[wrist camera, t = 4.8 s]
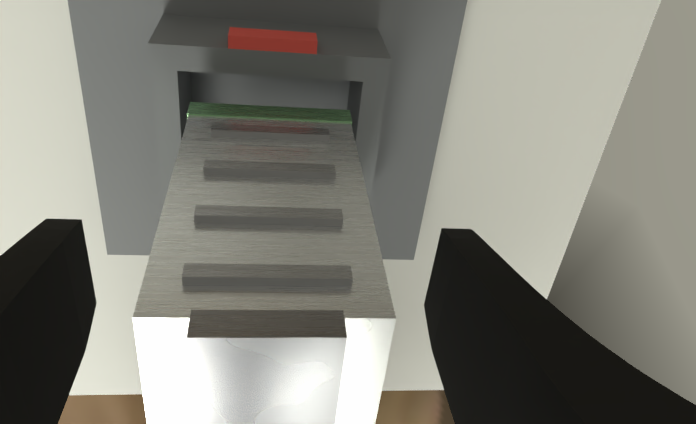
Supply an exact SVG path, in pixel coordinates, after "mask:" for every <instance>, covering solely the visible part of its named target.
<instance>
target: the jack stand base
mask: <svg viewBox="0 0 696 424" xmlns="http://www.w3.org/2000/svg"><path fill="white" fill-rule="evenodd" d="M660 2H661V0H0V255H2V254H3V253H4V252H5V251H7V250H8V249H9V248H10V247H11V246H13V245H14V244H15V243H16V242H18V241H19V240H20V239H21V238H22V237H24V236H25V235H26V234H27V233H29V232H30V231H31V230H32V229H34V228H35V227H36V226H37V225H39V224H40V223H41V222H43V221H44V220H45V219H82V224H83V230H84V235H85V241H86V247H87V252H88V258H89V263H90V269H91V274H92V280H93V286H94V291H95V297H96V302H97V304H96V308H95V312H94V317H93V321H92V326H91V330H90V334H89V338H88V342H87V346H86V350H85V353H84V356H83V359H82V362H81V364H80V367H79V369H78V372H77V375H76V377H75V380H74V383H73V385H72V388H71V390H70V393H69V395H113V394H143V391H142V384H141V376H140V369H139V362H138V355H137V347H136V340H135V333H134V325H133V314H134V310H135V307H136V303H137V300H138V296H139V292H140V289H141V285H142V281H143V278H144V274H145V271H146V267H147V263H148V260H149V256H150V252H151V249H152V245H153V242H154V238H155V234H156V231H157V227H158V224H159V220H160V216H161V213H162V209H163V205H164V202H165V198H166V195H167V191H168V187H169V184H170V180H171V176H172V173H173V169H174V166H175V162H176V158H177V155H178V151H179V148H180V144H181V140H182V137H183V133H184V129H185V126H186V122H187V112H188V108H189V105H190V102H201V103H220V104H240V105H259V106H279V107H298V108H318V109H337V110H350V114H351V118H352V130H353V134H354V139H355V143H356V147H357V152H358V156H359V160H360V164H361V169H362V173H363V177H364V182H365V186H366V190H367V195H368V199H369V203H370V208H371V212H372V216H373V221H374V225H375V229H376V234H377V238H378V242H379V247H380V251H381V255H382V259H383V264H384V268H385V272H386V277H387V281H388V285H389V290H390V294H391V298H392V303H393V307H394V311H395V316H396V322H395V327H394V332H393V337H392V342H391V347H390V352H389V357H388V362H387V367H386V372H385V377H384V382H383V387H382V391H398V390H444V388H443V385H442V382H441V378H440V375H439V372H438V369H437V366H436V362H435V359H434V356H433V352H432V349H431V344H430V338H429V333H428V327H427V321H426V315H425V309H424V302H425V298H426V293H427V289H428V285H429V280H430V276H431V272H432V267H433V263H434V259H435V254H436V250H437V246H438V241H439V237H440V233H441V228H454V229H472V230H473V231H474V232H475V233H476V234H478V235H479V236H480V237H481V238H482V239H483V240H484V241H485V242H486V243H487V244H488V245H489V246H490V247H491V248H492V249H493V250H494V251H495V252H496V253H497V254H499V255H500V256H501V257H502V258H503V259H504V260H505V261H506V262H507V263H508V264H509V265H510V266H511V267H512V268H513V269H514V270H515V271H516V272H517V273H518V274H519V275H520V276H521V277H523V278H524V279H525V280H526V281H527V282H528V283H529V284H530V285H531V286H532V287H533V288H534V289H535V290H537V291H538V292H539V293H540V294H541V295H542V296H543V297H544V298H545V299H547V297H548V295H549V292H550V290H551V287H552V284H553V282H554V279H555V277H556V274H557V271H558V269H559V266H560V263H561V261H562V258H563V256H564V253H565V251H566V248H567V245H568V243H569V240H570V237H571V235H572V232H573V229H574V227H575V224H576V222H577V219H578V217H579V214H580V211H581V209H582V206H583V203H584V201H585V198H586V196H587V193H588V190H589V188H590V185H591V182H592V180H593V177H594V175H595V172H596V170H597V167H598V164H599V162H600V159H601V156H602V154H603V151H604V149H605V146H606V143H607V141H608V138H609V136H610V133H611V130H612V128H613V125H614V122H615V120H616V117H617V115H618V112H619V109H620V107H621V104H622V102H623V99H624V96H625V94H626V91H627V89H628V86H629V83H630V81H631V78H632V75H633V73H634V70H635V67H636V65H637V62H638V60H639V57H640V55H641V52H642V49H643V47H644V44H645V41H646V38H647V36H648V34H649V31H650V28H651V26H652V23H653V20H654V18H655V15H656V13H657V10H658V7H659V5H660Z"/></svg>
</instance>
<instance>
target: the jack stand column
mask: <svg viewBox="0 0 696 424" xmlns="http://www.w3.org/2000/svg"><path fill="white" fill-rule="evenodd" d="M395 322H396V316H395V311H394V307H393V303H392V298H391V294H390V290H389V285H388V281H387V277H386V272H385V268H384V264H383V259H382V255H381V251H380V247H379V242H378V238H377V234H376V229H375V225H374V221H373V216H372V212H371V208H370V203H369V199H368V195H367V190H366V186H365V182H364V177H363V173H362V169H361V164H360V160H359V156H358V152H357V147H356V143H355V139H354V134H353V130H352V118H351V114H350V110H337V109H318V108H298V107H279V106H259V105H240V104H220V103H201V102H190V105H189V108H188V112H187V122H186V126H185V129H184V133H183V137H182V140H181V144H180V148H179V151H178V155H177V158H176V162H175V166H174V169H173V173H172V176H171V180H170V184H169V187H168V191H167V195H166V198H165V202H164V205H163V209H162V213H161V216H160V220H159V224H158V227H157V231H156V234H155V238H154V242H153V245H152V249H151V252H150V256H149V260H148V263H147V267H146V271H145V274H144V278H143V281H142V285H141V289H140V292H139V296H138V300H137V303H136V307H135V310H134V314H133V325H134V333H135V340H136V347H137V355H138V362H139V369H140V376H141V384H142V391H143V398H144V406H145V413H146V420H147V424H375V422H376V417H377V412H378V407H379V402H380V397H381V392H382V387H383V382H384V377H385V372H386V367H387V362H388V357H389V352H390V347H391V342H392V337H393V332H394V327H395Z"/></svg>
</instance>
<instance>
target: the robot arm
mask: <svg viewBox="0 0 696 424" xmlns="http://www.w3.org/2000/svg"><path fill="white" fill-rule="evenodd" d="M96 304H97V302H96V297H95V291H94V286H93V280H92V274H91V269H90V263H89V258H88V252H87V247H86V241H85V235H84V230H83V224H82V219H45V220H44V221H43V222H41V223H40V224H39V225H37V226H36V227H35V228H34V229H32V230H31V231H30V232H29V233H27V234H26V235H25V236H24V237H22V238H21V239H20V240H19V241H18V242H16V243H15V244H14V245H13V246H11V247H10V248H9V249H8V250H7V251H5V252H4V253H3V254H2V255H0V424H58V421H59V419H60V416H61V414H62V411H63V408H64V406H65V403H66V401H67V398H68V396H69V393H70V390H71V388H72V385H73V383H74V380H75V377H76V375H77V372H78V369H79V367H80V364H81V362H82V359H83V356H84V353H85V350H86V346H87V342H88V338H89V334H90V330H91V326H92V321H93V317H94V312H95V308H96ZM424 309H425V315H426V321H427V327H428V333H429V338H430V344H431V349H432V352H433V356H434V359H435V362H436V366H437V369H438V372H439V375H440V378H441V382H442V385H443V388H444V391H445V394H446V397H447V400H448V403H449V406H450V410H451V413H452V416H453V419H454V422H455V424H696V405H694V404H693V403H691V402H689V401H687V400H686V399H684V398H683V397H681V396H679V395H678V394H676V393H674V392H673V391H671V390H670V389H668V388H666V387H665V386H663V385H661V384H660V383H658V382H656V381H655V380H653V379H652V378H650V377H648V376H647V375H645V374H643V373H642V372H640V371H639V370H638V369H636V368H634V367H633V366H632V365H630V364H629V363H627V362H626V361H625V360H623V359H622V358H620V357H619V356H618V355H616V354H615V353H613V352H612V351H611V350H609V349H608V348H606V347H605V346H603V345H602V344H601V343H599V342H598V341H597V340H595V339H594V338H593V337H591V336H590V335H589V334H587V333H586V332H585V331H583V330H582V329H581V328H580V327H579V326H578V325H576V324H575V323H574V322H573V321H571V320H570V319H569V318H568V317H566V316H565V315H564V314H563V313H562V312H561V311H559V310H558V309H557V308H556V307H555V306H554V305H552V304H551V303H550V302H549V301H548V300H547V299H545V298H544V297H543V296H542V295H541V294H540V293H539V292H538V291H537V290H535V289H534V288H533V287H532V286H531V285H530V284H529V283H528V282H527V281H526V280H525V279H524V278H523V277H521V276H520V275H519V274H518V273H517V272H516V271H515V270H514V269H513V268H512V267H511V266H510V265H509V264H508V263H507V262H506V261H505V260H504V259H503V258H502V257H501V256H500V255H499V254H497V253H496V252H495V251H494V250H493V249H492V248H491V247H490V246H489V245H488V244H487V243H486V242H485V241H484V240H483V239H482V238H481V237H480V236H479V235H478V234H476V233H475V232H474V231H473V230H472V229H454V228H441V233H440V237H439V241H438V246H437V250H436V254H435V259H434V263H433V267H432V272H431V276H430V280H429V285H428V289H427V293H426V298H425V302H424Z"/></svg>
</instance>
